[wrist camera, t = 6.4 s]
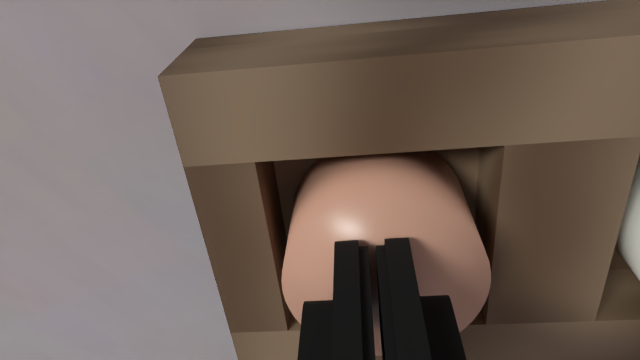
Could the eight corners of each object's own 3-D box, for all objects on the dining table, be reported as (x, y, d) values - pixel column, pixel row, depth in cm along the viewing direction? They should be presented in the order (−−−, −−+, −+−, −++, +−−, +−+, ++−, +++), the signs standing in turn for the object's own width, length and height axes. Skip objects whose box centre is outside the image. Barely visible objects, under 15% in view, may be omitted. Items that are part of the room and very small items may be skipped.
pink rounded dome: (468, 129, 12) (500, 193, 10) (459, 272, 15) (483, 353, 12) (282, 142, 13) (266, 206, 10) (304, 278, 15) (295, 358, 13)
